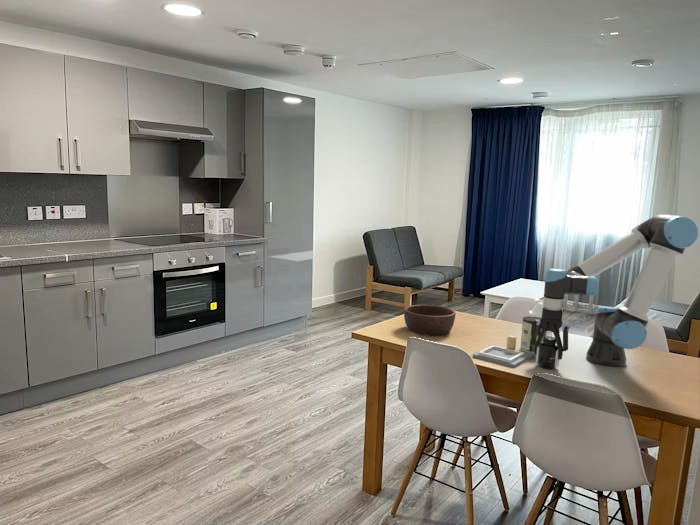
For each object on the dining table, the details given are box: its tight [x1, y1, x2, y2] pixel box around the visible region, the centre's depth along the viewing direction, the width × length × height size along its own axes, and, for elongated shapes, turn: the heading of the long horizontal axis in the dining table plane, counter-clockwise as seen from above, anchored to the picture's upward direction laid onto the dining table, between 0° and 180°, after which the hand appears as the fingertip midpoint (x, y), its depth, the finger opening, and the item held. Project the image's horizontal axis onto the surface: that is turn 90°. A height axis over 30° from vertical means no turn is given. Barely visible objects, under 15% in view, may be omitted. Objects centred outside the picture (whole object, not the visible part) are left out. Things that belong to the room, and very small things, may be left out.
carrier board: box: [472, 335, 535, 368], centre depth 222 cm, size 18×20×7 cm
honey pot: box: [528, 298, 553, 337], centre depth 256 cm, size 13×13×18 cm
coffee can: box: [519, 315, 546, 355], centre depth 233 cm, size 10×10×14 cm
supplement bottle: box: [537, 336, 558, 370], centre depth 211 cm, size 7×7×12 cm
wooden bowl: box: [403, 304, 457, 337], centre depth 259 cm, size 25×25×10 cm
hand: (547, 364), depth 212 cm, fingers closed on supplement bottle, 7 cm apart
